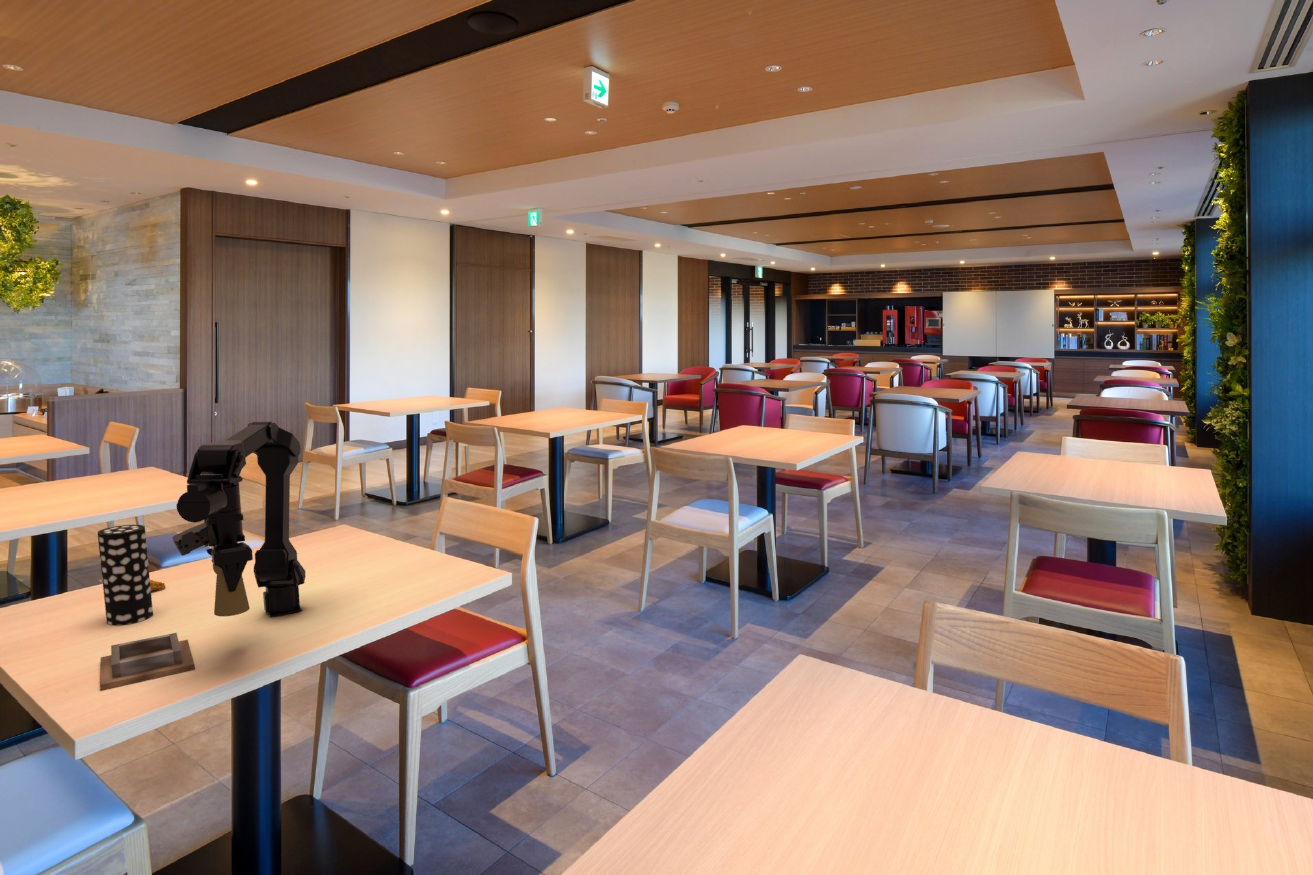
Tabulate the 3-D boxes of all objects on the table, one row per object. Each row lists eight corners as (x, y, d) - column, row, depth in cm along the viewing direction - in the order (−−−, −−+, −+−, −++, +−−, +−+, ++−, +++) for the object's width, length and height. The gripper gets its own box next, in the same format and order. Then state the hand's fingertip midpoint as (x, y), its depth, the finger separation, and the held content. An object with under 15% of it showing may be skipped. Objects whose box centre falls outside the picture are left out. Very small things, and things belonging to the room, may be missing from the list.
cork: (233, 617, 140) (229, 561, 138) (206, 615, 141) (201, 559, 140) (256, 606, 146) (252, 552, 144) (230, 604, 147) (225, 550, 145)
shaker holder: (188, 644, 148) (186, 627, 148) (194, 669, 137) (193, 651, 136) (101, 662, 140) (99, 644, 139) (100, 690, 129) (98, 671, 128)
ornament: (126, 566, 183) (104, 571, 169) (174, 571, 186) (156, 576, 172) (119, 593, 182) (96, 601, 168) (168, 598, 185) (149, 606, 171)
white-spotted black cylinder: (161, 614, 164) (153, 527, 161) (121, 627, 156) (112, 536, 154) (138, 608, 167) (130, 523, 165) (98, 621, 160) (88, 531, 157)
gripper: (169, 506, 143) (176, 583, 145) (177, 525, 128) (185, 611, 131) (235, 498, 150) (240, 572, 152) (250, 516, 135) (256, 598, 137)
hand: (230, 588), depth 143 cm, fingers closed on cork, 4 cm apart
